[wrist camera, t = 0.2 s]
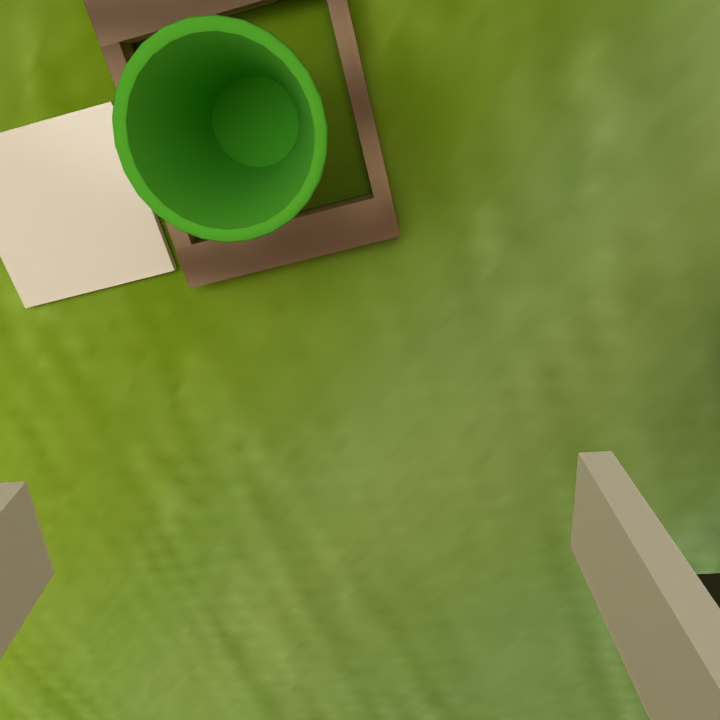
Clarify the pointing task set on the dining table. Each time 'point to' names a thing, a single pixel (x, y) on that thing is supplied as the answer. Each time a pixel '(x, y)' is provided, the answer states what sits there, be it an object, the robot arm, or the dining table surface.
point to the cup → (220, 128)
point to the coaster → (73, 210)
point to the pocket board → (310, 227)
